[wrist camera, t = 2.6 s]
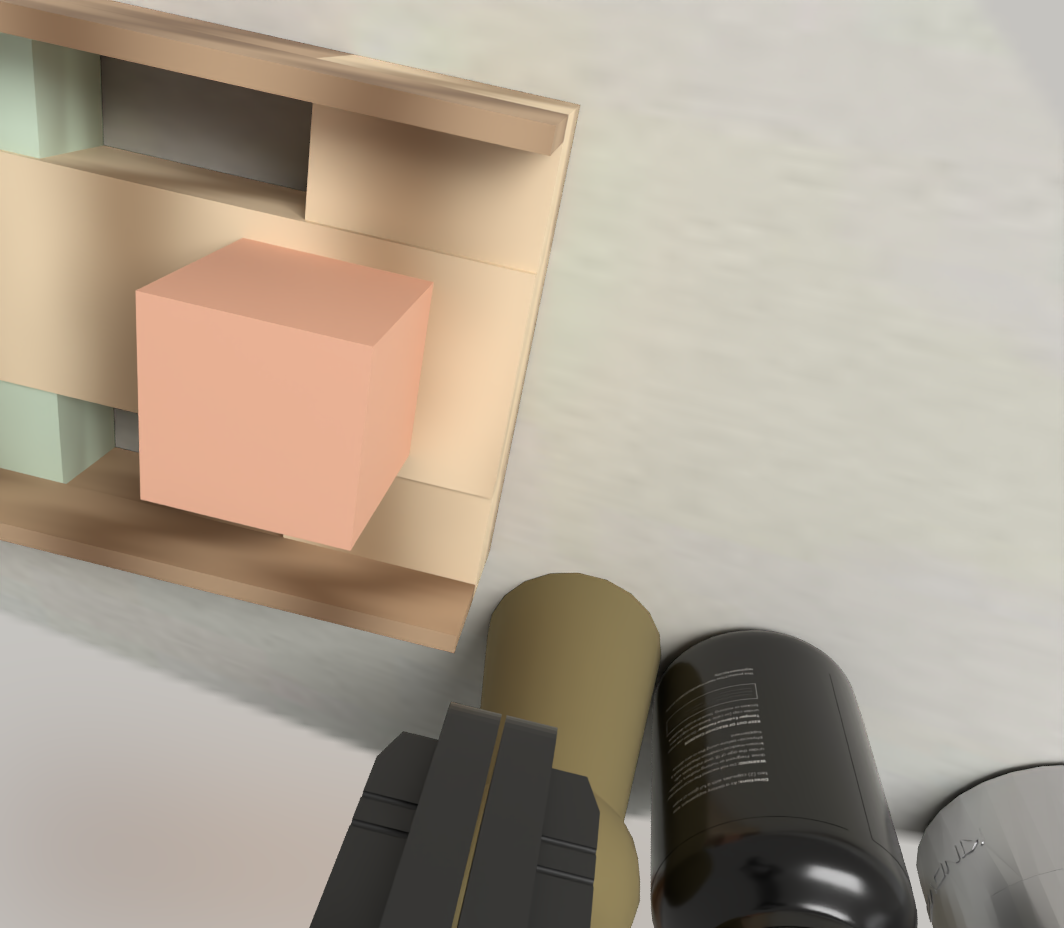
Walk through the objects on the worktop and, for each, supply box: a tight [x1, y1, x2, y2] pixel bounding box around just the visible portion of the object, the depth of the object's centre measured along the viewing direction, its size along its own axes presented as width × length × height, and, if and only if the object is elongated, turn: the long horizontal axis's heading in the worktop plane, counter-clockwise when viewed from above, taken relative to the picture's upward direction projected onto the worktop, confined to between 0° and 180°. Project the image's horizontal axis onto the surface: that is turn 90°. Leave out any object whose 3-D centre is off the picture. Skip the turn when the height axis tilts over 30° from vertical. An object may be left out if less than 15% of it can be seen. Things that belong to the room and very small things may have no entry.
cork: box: [452, 573, 661, 928], centre depth 25 cm, size 6×6×11 cm
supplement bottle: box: [651, 630, 917, 928], centre depth 25 cm, size 7×7×12 cm
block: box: [135, 238, 434, 551], centre depth 21 cm, size 5×5×5 cm
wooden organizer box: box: [0, 0, 580, 653], centre depth 23 cm, size 20×14×6 cm
